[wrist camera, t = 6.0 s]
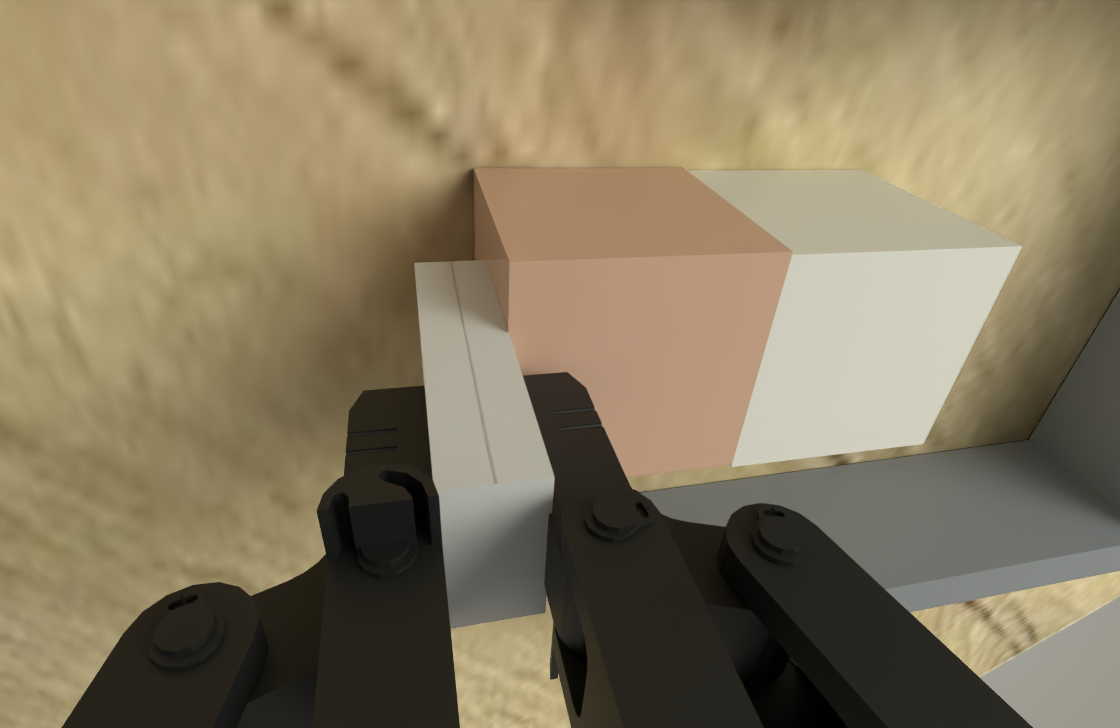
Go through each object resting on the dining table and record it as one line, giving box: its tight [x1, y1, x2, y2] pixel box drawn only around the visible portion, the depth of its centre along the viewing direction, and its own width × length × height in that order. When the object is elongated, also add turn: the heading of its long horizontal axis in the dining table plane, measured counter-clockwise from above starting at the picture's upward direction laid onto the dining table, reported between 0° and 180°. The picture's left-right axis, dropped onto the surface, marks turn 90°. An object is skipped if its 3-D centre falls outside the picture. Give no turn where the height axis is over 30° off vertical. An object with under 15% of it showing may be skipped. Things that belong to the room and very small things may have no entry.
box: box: [641, 290, 1120, 612], centre depth 16 cm, size 20×18×5 cm
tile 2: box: [688, 170, 1022, 467], centre depth 15 cm, size 5×5×5 cm
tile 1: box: [474, 168, 793, 477], centre depth 14 cm, size 5×5×5 cm
